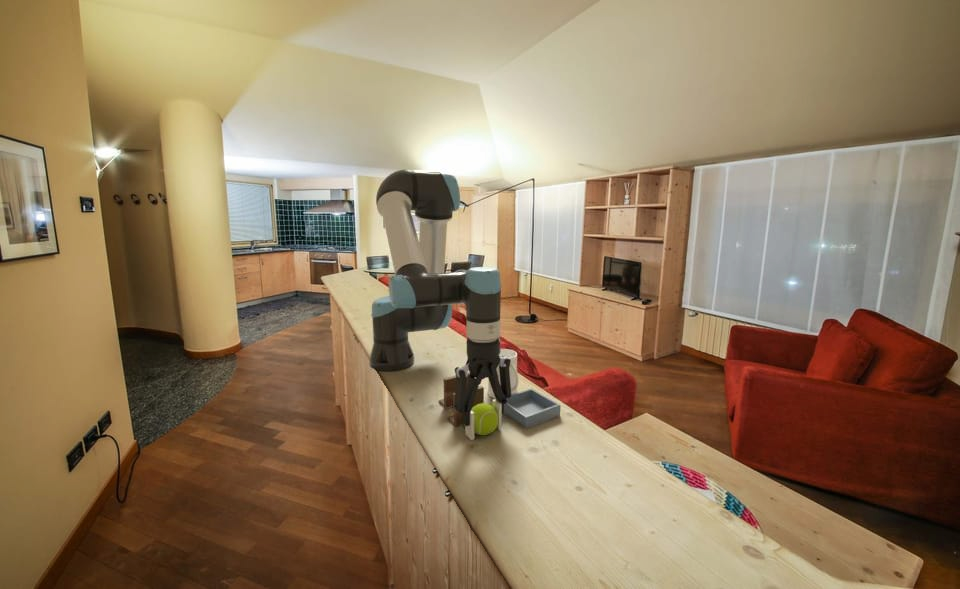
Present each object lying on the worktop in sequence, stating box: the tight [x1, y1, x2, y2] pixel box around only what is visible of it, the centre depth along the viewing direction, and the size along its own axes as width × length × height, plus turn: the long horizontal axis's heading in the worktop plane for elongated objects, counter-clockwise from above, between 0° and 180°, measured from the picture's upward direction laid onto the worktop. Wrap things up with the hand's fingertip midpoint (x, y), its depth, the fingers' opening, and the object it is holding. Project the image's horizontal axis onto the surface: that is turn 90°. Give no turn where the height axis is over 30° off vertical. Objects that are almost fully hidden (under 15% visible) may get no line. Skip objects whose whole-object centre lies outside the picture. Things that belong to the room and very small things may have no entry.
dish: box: [503, 388, 561, 430], centre depth 96 cm, size 11×11×3 cm
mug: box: [487, 348, 520, 400], centre depth 105 cm, size 12×8×12 cm
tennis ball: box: [471, 403, 498, 436], centre depth 87 cm, size 7×7×7 cm
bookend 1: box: [438, 371, 470, 409], centre depth 102 cm, size 4×8×8 cm, turn 123°
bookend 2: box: [447, 385, 485, 427], centre depth 93 cm, size 4×8×8 cm, turn 123°
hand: (483, 431), depth 87 cm, fingers closed on tennis ball, 7 cm apart
